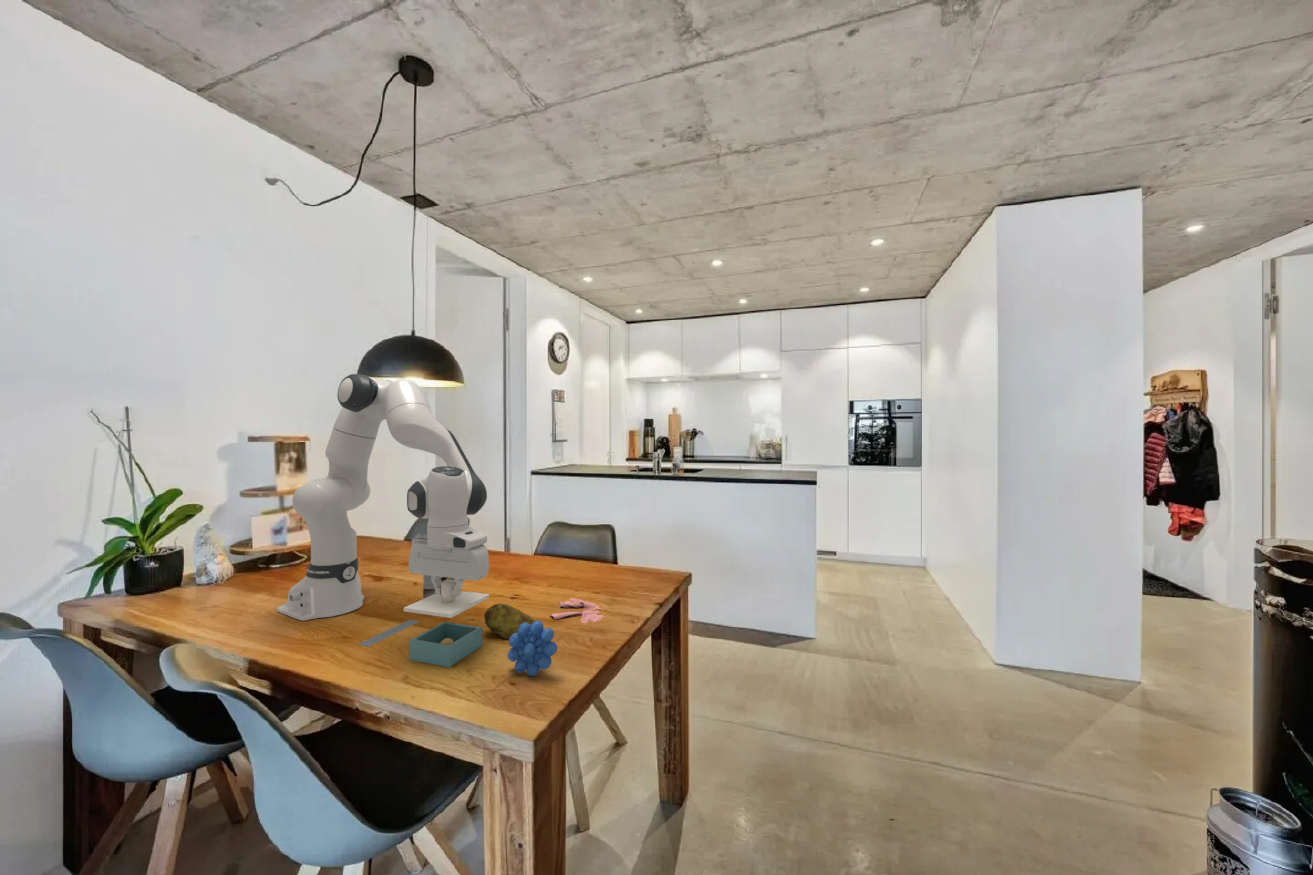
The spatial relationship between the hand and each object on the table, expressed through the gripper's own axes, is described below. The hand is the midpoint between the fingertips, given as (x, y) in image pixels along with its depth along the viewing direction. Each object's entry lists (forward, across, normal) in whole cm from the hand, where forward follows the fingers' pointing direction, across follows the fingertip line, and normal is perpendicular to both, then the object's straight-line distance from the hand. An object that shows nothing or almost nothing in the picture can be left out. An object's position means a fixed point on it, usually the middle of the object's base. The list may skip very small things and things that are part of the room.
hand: (448, 594), depth 109 cm
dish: (+14, 0, 0) cm, 14 cm away
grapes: (+14, +24, -1) cm, 28 cm away
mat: (+14, -16, +5) cm, 22 cm away
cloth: (+15, +15, +34) cm, 40 cm away
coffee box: (+14, -22, +23) cm, 35 cm away
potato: (+14, +8, +13) cm, 21 cm away
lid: (+2, 0, 0) cm, 2 cm away
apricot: (+14, 0, 0) cm, 14 cm away
